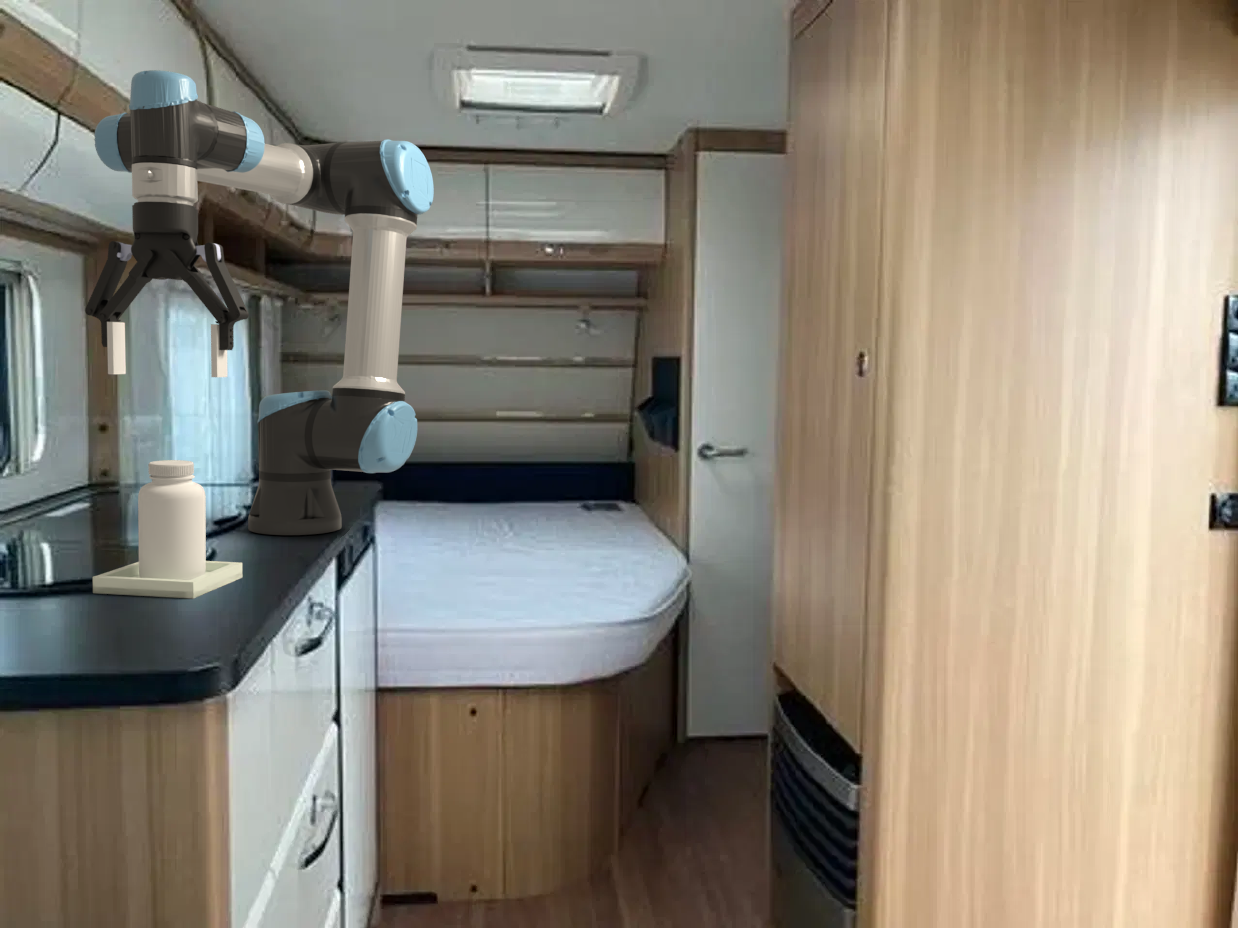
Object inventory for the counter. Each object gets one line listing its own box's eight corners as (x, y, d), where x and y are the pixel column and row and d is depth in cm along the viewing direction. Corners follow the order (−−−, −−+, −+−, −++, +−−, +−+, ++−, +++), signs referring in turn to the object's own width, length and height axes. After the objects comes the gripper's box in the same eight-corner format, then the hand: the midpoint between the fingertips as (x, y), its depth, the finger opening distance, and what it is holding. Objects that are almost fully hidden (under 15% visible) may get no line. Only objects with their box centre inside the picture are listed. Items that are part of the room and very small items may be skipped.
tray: (150, 572, 148) (149, 557, 148) (242, 577, 147) (242, 562, 147) (93, 592, 136) (92, 576, 135) (193, 598, 134) (193, 582, 134)
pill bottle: (152, 588, 136) (150, 466, 134) (130, 577, 142) (128, 460, 140) (216, 580, 141) (215, 463, 139) (192, 570, 147) (191, 457, 145)
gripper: (52, 198, 134) (56, 373, 136) (247, 200, 131) (249, 379, 134) (88, 206, 142) (92, 372, 144) (274, 208, 139) (275, 377, 141)
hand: (167, 376), depth 139 cm, fingers open, 13 cm apart
